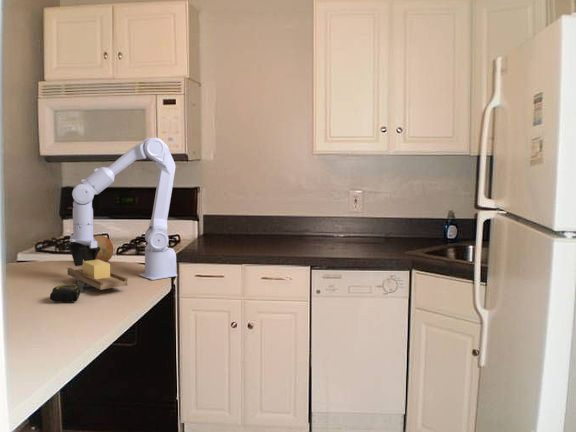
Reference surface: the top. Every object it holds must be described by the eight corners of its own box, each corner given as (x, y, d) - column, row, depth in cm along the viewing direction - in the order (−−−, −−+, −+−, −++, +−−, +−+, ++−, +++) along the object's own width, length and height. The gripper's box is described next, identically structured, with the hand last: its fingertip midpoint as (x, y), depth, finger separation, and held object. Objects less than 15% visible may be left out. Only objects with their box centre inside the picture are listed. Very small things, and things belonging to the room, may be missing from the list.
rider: (98, 272, 160) (98, 259, 160) (110, 277, 155) (110, 263, 155) (83, 274, 157) (82, 261, 157) (94, 279, 152) (94, 265, 151)
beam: (93, 272, 167) (92, 264, 167) (127, 287, 152) (127, 278, 151) (67, 276, 161) (67, 268, 161) (100, 291, 146) (100, 282, 146)
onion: (96, 268, 179) (95, 239, 178) (78, 264, 185) (77, 235, 184) (119, 263, 187) (119, 235, 186) (101, 259, 193) (101, 232, 192)
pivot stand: (109, 280, 164) (109, 274, 164) (122, 285, 158) (122, 279, 158) (70, 286, 155) (70, 280, 155) (82, 292, 150) (82, 285, 149)
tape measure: (49, 305, 138) (48, 291, 137) (56, 297, 145) (56, 284, 144) (76, 304, 139) (76, 290, 139) (82, 297, 146) (82, 284, 145)
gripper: (60, 221, 163) (61, 265, 165) (80, 227, 153) (81, 274, 154) (82, 220, 168) (83, 262, 169) (103, 225, 158) (104, 270, 159)
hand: (83, 267), depth 162 cm, fingers open, 7 cm apart
